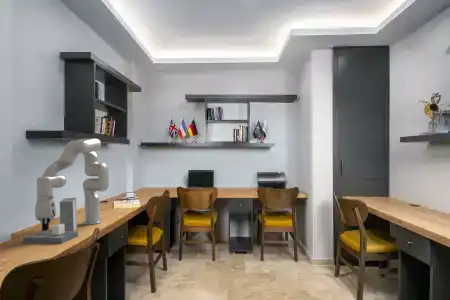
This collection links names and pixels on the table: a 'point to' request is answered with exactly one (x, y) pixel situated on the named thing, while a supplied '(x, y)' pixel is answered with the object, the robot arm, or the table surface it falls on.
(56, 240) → the platform
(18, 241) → the table surface
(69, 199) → the hard drive box
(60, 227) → the fader knob
